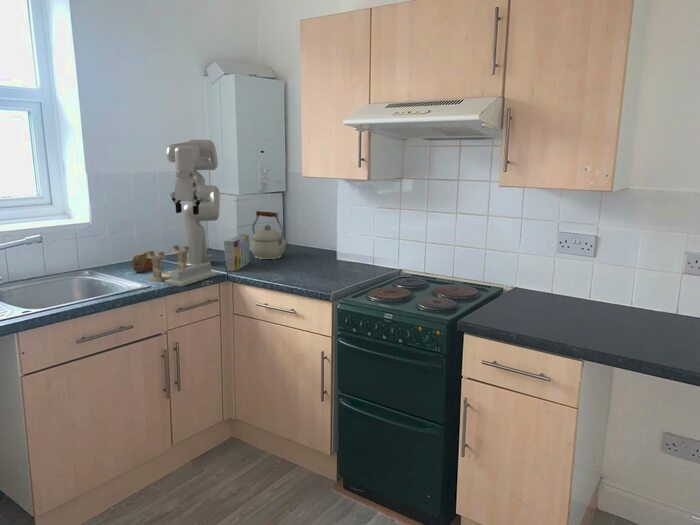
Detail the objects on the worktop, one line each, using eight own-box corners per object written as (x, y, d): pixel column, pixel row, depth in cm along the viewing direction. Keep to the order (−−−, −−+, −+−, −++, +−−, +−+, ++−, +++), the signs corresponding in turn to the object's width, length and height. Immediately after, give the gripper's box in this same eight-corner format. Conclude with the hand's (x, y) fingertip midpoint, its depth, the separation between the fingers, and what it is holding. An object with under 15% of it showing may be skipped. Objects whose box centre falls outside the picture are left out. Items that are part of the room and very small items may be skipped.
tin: (137, 273, 254) (136, 256, 252) (131, 273, 254) (130, 255, 253) (155, 267, 268) (154, 250, 267) (149, 267, 269) (148, 250, 267)
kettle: (241, 257, 294) (240, 211, 289) (265, 252, 309) (264, 209, 304) (276, 263, 280) (275, 215, 275) (299, 257, 295) (298, 212, 290)
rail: (204, 270, 254) (204, 262, 253) (211, 271, 252) (211, 263, 251) (171, 280, 234) (170, 271, 233) (178, 281, 232) (178, 272, 232)
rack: (179, 271, 259) (178, 244, 256) (191, 273, 256) (189, 245, 253) (148, 280, 241) (146, 251, 238) (160, 281, 238) (158, 252, 235)
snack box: (240, 262, 281) (239, 234, 278) (250, 263, 280) (249, 234, 277) (224, 271, 260) (223, 240, 257) (235, 272, 259) (234, 240, 256)
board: (201, 273, 256) (201, 270, 256) (217, 275, 252) (217, 271, 252) (165, 284, 234) (165, 280, 234) (181, 286, 231) (181, 282, 231)
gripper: (206, 175, 241) (208, 213, 246) (175, 173, 248) (177, 210, 252) (195, 177, 235) (197, 216, 239) (163, 174, 241) (166, 213, 246)
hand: (187, 213), depth 246 cm, fingers open, 9 cm apart
